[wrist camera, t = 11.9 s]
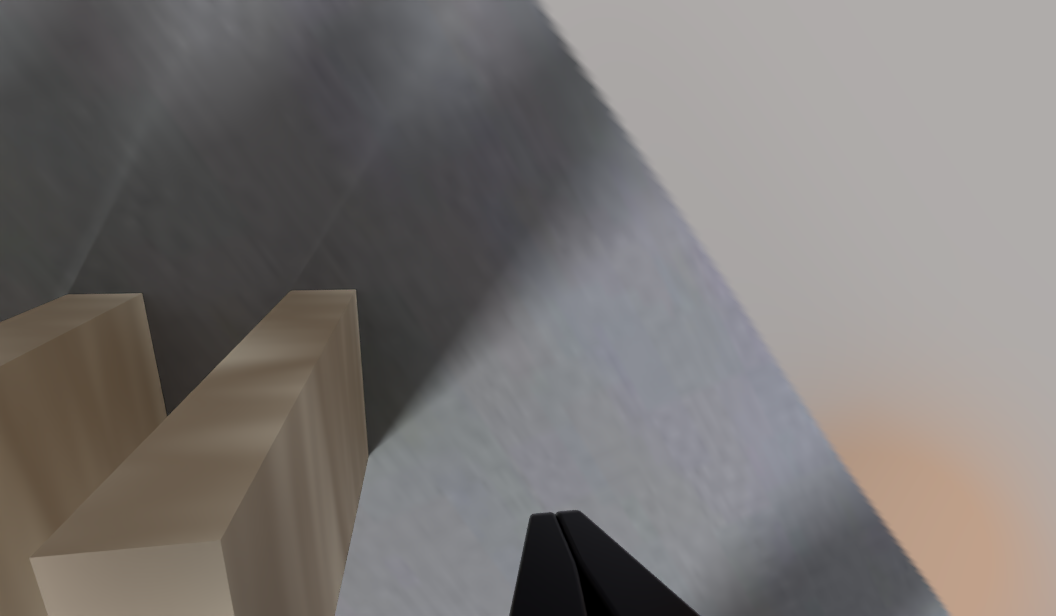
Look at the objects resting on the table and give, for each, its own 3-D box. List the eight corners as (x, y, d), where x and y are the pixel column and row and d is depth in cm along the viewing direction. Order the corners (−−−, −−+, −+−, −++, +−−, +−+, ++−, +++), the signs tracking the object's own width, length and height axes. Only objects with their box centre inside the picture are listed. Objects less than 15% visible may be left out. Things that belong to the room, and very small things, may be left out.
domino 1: (356, 289, 13) (220, 539, 5) (368, 456, 15) (280, 867, 6) (290, 290, 13) (28, 557, 5) (309, 460, 15) (137, 894, 6)
